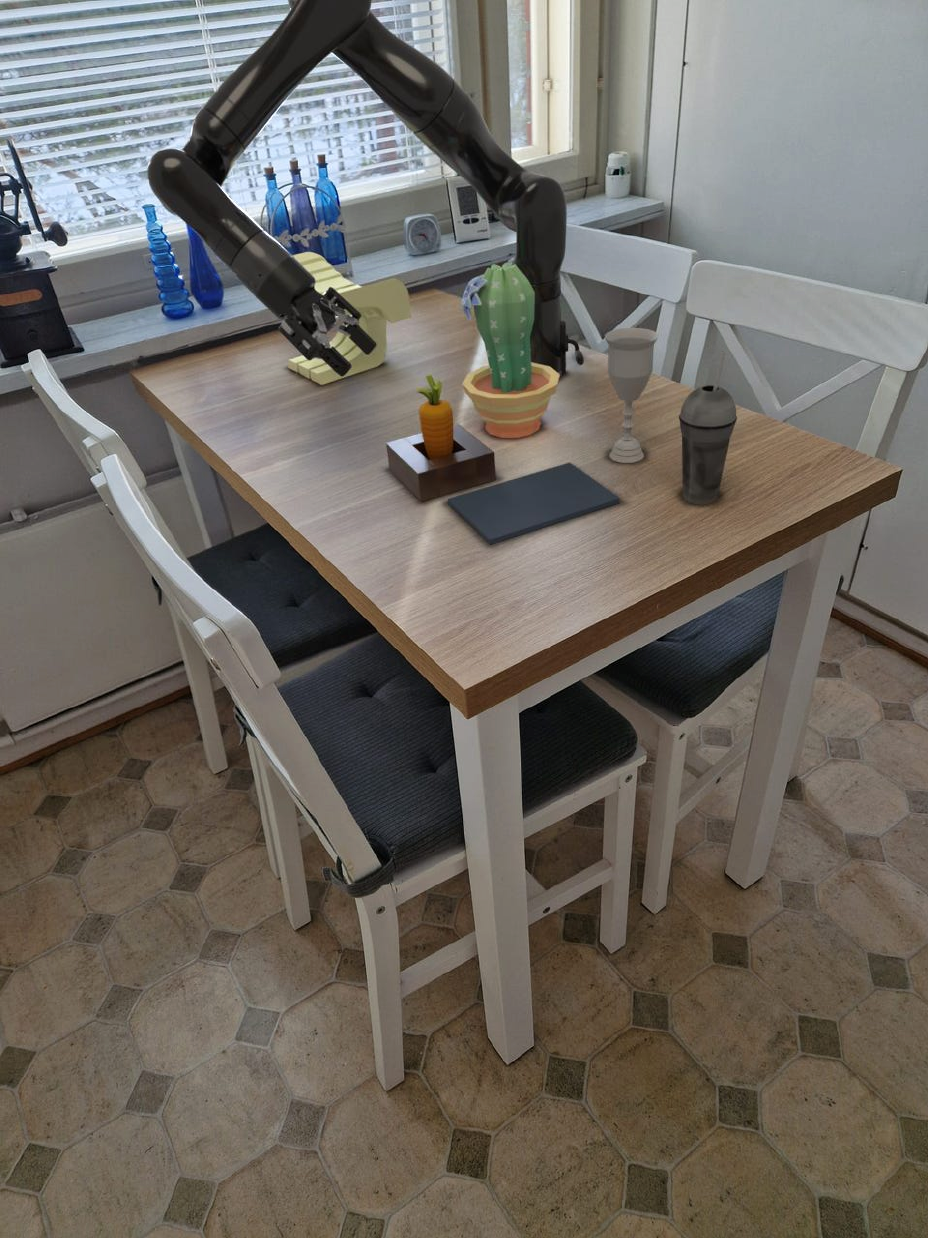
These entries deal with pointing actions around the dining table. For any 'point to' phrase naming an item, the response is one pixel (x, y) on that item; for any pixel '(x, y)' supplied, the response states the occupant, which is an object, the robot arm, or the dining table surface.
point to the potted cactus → (507, 354)
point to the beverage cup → (705, 439)
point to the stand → (441, 465)
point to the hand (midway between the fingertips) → (360, 360)
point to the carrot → (436, 421)
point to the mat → (531, 502)
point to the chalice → (629, 380)
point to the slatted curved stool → (369, 301)
